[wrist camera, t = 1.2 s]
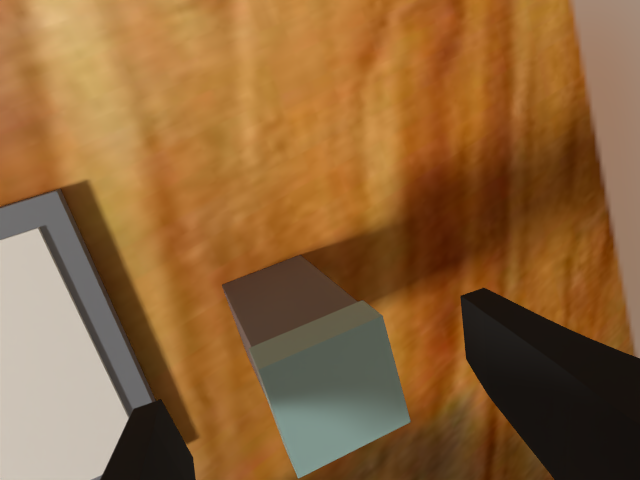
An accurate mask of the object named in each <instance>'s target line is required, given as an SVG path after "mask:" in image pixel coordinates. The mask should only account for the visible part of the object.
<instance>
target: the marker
mask: <svg viewBox="0 0 640 480" xmlns="http://www.w3.org/2000/svg"><path fill="white" fill-rule="evenodd" d="M222 287H223V290H224V293H225V295H226V298H227V301H228V303H229V306H230V309H231V312H232V314H233V317H234V320H235V322H236V325H237V328H238V331H239V333H240V336H241V339H242V341H243V344H244V347H245V349H246V352H247V355H248V358H249V360H250V362H251V364H252V367H253V369H254V371H255V373H256V376H257V378H258V380H259V382H260V385H261V387H262V389H263V391H264V394H265V396H266V398H267V400H268V403H269V405H270V408H271V411H272V413H273V416H274V419H275V422H276V424H277V427H278V430H279V433H280V435H281V438H282V441H283V443H284V446H285V449H286V451H287V454H288V456H289V458H290V461H291V463H292V465H293V468H294V470H295V472H296V474H297V477H298V479H299V478H301V477H303V476H305V475H307V474H309V473H311V472H313V471H315V470H317V469H318V468H320V467H322V466H324V465H326V464H328V463H330V462H332V461H334V460H336V459H338V458H340V457H342V456H344V455H346V454H348V453H350V452H352V451H354V450H356V449H358V448H360V447H362V446H364V445H366V444H368V443H370V442H372V441H374V440H376V439H378V438H380V437H382V436H384V435H386V434H388V433H390V432H392V431H394V430H396V429H398V428H400V427H402V426H404V425H406V424H408V423H410V422H411V421H410V418H409V414H408V410H407V406H406V403H405V399H404V395H403V391H402V387H401V384H400V380H399V376H398V372H397V369H396V365H395V361H394V357H393V354H392V350H391V346H390V342H389V338H388V335H387V331H386V327H385V323H384V320H383V316H382V315H381V314H380V313H379V312H377V311H376V310H375V309H373V308H372V307H371V306H370V305H368V304H367V303H366V302H365V301H363V300H362V301H359V302H358V301H356V300H355V299H354V298H353V297H351V296H350V295H349V294H348V293H346V292H345V291H344V290H343V289H342V288H340V287H339V286H338V285H337V284H335V283H334V282H333V281H332V280H331V279H329V278H328V277H327V276H326V275H324V274H323V273H322V272H321V271H319V270H318V269H317V268H316V267H315V266H313V265H312V264H311V263H310V262H308V261H307V260H306V259H305V258H303V257H302V256H301V255H299V256H296V257H293V258H291V259H288V260H286V261H283V262H280V263H278V264H275V265H273V266H270V267H267V268H265V269H262V270H260V271H257V272H254V273H252V274H249V275H246V276H244V277H241V278H239V279H236V280H233V281H231V282H228V283H226V284H223V285H222Z"/></svg>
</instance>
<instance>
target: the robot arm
mask: <svg viewBox="0 0 640 480" xmlns="http://www.w3.org/2000/svg"><path fill="white" fill-rule="evenodd" d="M461 307H462V318H463V329H464V340H465V351H466V359H467V361H468V363H469V364H470V366H471V368H472V370H473V371H474V373H475V375H476V376H477V378H478V380H479V381H480V383H481V384H482V386H483V388H484V389H485V391H486V392H487V394H488V395H489V397H490V398H491V399H492V401H493V402H494V403H495V405H496V406H497V407H498V408H499V410H500V411H501V412H502V413H503V415H504V416H505V417H506V419H507V420H508V421H509V422H510V424H511V425H512V426H513V427H514V429H515V430H516V431H517V432H518V434H519V435H520V436H521V438H522V439H523V440H524V441H525V443H526V444H527V445H528V446H529V448H530V449H531V450H532V451H533V453H534V454H535V455H536V456H537V458H538V459H539V460H540V461H541V463H542V464H543V465H544V466H545V468H546V469H547V470H548V471H549V473H550V474H551V475H552V477H553V478H554V479H555V480H640V358H637V357H634V356H632V355H629V354H626V353H624V352H621V351H619V350H616V349H614V348H611V347H609V346H607V345H604V344H602V343H599V342H597V341H594V340H592V339H590V338H587V337H585V336H583V335H581V334H578V333H576V332H574V331H572V330H569V329H567V328H565V327H563V326H561V325H559V324H557V323H554V322H552V321H550V320H548V319H546V318H544V317H542V316H540V315H538V314H536V313H534V312H532V311H530V310H528V309H526V308H524V307H522V306H520V305H518V304H516V303H514V302H512V301H510V300H508V299H506V298H504V297H502V296H500V295H498V294H496V293H494V292H492V291H490V290H488V289H486V288H482V289H479V290H476V291H473V292H470V293H467V294H465V295H462V296H461ZM100 480H196V479H195V471H194V463H193V457H192V455H191V453H190V451H189V450H188V448H187V446H186V444H185V442H184V440H183V439H182V437H181V435H180V433H179V431H178V429H177V428H176V426H175V424H174V422H173V420H172V418H171V417H170V415H169V413H168V411H167V409H166V407H165V406H164V404H163V402H162V400H161V399H160V400H157V401H155V402H152V403H149V404H146V405H143V406H140V407H137V408H134V409H133V411H132V413H131V415H130V417H129V419H128V421H127V423H126V425H125V427H124V429H123V432H122V434H121V436H120V438H119V440H118V442H117V445H116V447H115V449H114V451H113V453H112V455H111V457H110V460H109V462H108V464H107V466H106V468H105V470H104V472H103V474H102V476H101V478H100Z"/></svg>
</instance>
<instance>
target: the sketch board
mask: <svg viewBox="0 0 640 480" xmlns="http://www.w3.org/2000/svg"><path fill="white" fill-rule="evenodd" d="M155 401H156V400H155V398H154V396H153V393H152V391H151V389H150V387H149V385H148V382H147V380H146V378H145V376H144V373H143V371H142V369H141V367H140V365H139V362H138V360H137V358H136V356H135V354H134V351H133V349H132V347H131V345H130V342H129V340H128V338H127V336H126V334H125V331H124V329H123V327H122V325H121V322H120V320H119V318H118V316H117V314H116V311H115V309H114V307H113V305H112V302H111V300H110V298H109V296H108V294H107V291H106V289H105V287H104V285H103V282H102V280H101V278H100V276H99V274H98V271H97V269H96V267H95V265H94V262H93V260H92V258H91V256H90V254H89V251H88V249H87V247H86V245H85V242H84V240H83V238H82V236H81V234H80V231H79V229H78V227H77V225H76V222H75V220H74V218H73V216H72V214H71V211H70V209H69V207H68V205H67V203H66V200H65V198H64V196H63V194H62V191H61V189H57V190H54V191H51V192H47V193H44V194H41V195H38V196H34V197H31V198H28V199H25V200H22V201H18V202H15V203H12V204H9V205H5V206H2V207H0V480H100V478H101V476H102V474H103V472H104V470H105V468H106V466H107V464H108V462H109V460H110V457H111V455H112V453H113V451H114V449H115V447H116V445H117V442H118V440H119V438H120V436H121V434H122V432H123V429H124V427H125V425H126V423H127V421H128V419H129V417H130V415H131V413H132V411H133V409H134V408H137V407H140V406H143V405H146V404H149V403H152V402H155Z"/></svg>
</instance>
